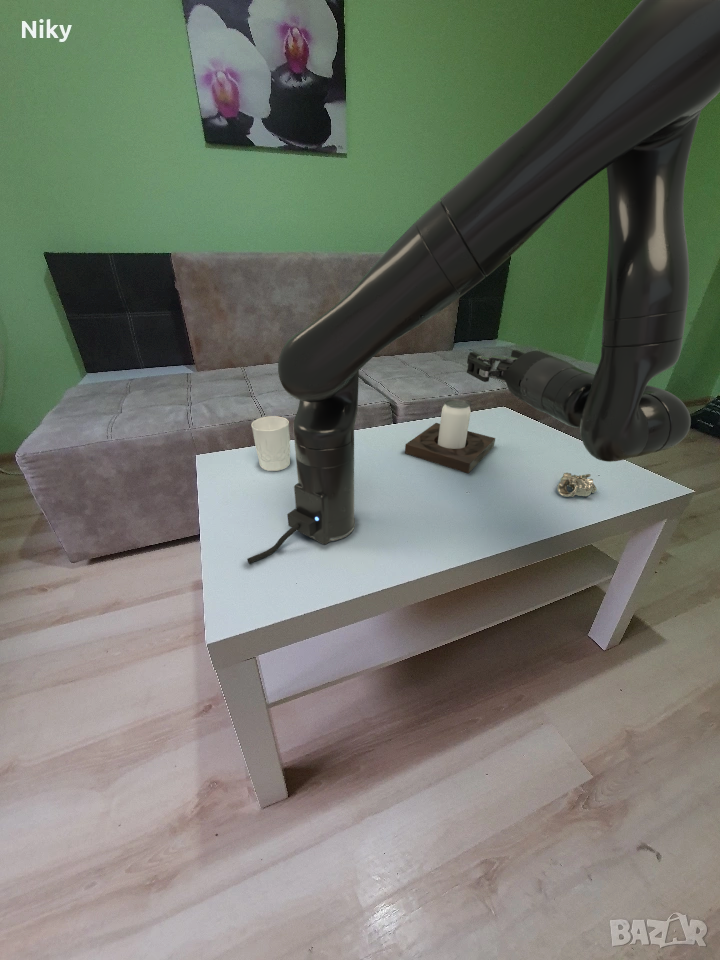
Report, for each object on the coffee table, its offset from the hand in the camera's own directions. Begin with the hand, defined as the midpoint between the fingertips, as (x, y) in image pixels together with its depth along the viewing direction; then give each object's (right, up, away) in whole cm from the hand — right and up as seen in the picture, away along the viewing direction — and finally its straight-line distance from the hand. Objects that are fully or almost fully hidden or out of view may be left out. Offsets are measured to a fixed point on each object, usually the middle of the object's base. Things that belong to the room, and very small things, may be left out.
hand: (491, 356), depth 71 cm
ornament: (+19, -25, +7) cm, 32 cm away
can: (-2, -16, +22) cm, 27 cm away
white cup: (-44, -19, +16) cm, 50 cm away
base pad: (-3, -16, +22) cm, 27 cm away
